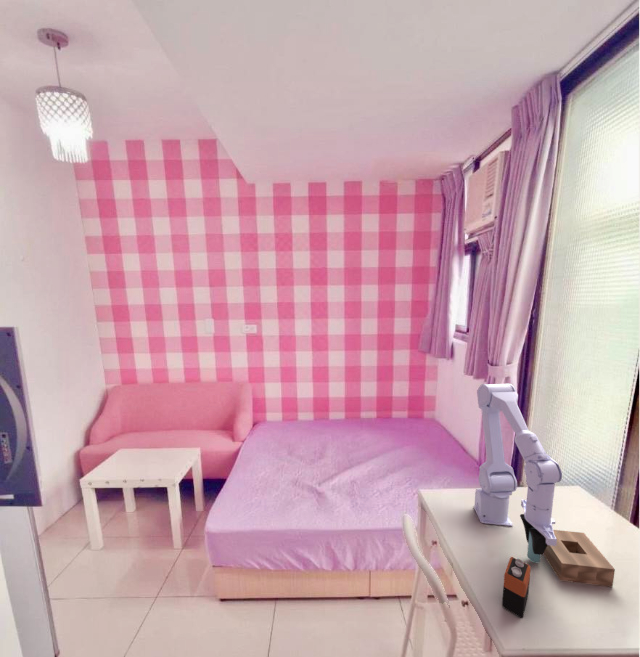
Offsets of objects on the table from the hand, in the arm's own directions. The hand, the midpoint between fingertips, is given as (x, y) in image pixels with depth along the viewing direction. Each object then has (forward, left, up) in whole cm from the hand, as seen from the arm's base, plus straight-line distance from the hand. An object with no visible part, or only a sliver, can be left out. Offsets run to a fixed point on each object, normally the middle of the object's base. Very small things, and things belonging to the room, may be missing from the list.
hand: (534, 548), depth 88 cm
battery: (-10, -13, -5) cm, 17 cm away
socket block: (+10, +1, -4) cm, 11 cm away
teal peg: (0, 0, -3) cm, 3 cm away
